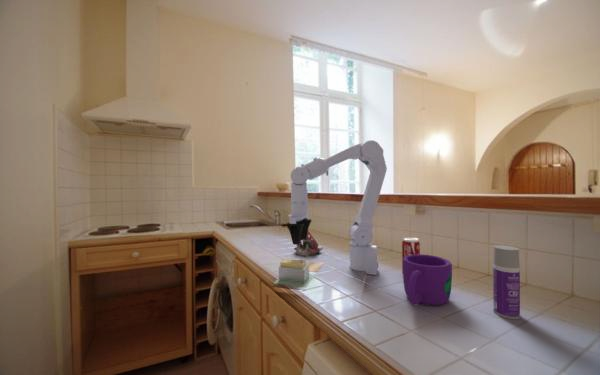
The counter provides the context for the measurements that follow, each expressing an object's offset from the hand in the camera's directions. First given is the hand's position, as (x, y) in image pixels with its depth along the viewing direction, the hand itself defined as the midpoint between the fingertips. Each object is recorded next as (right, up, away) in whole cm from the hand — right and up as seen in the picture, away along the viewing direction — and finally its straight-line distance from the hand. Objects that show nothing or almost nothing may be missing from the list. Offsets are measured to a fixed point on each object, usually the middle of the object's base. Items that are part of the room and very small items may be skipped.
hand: (299, 241), depth 89 cm
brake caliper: (+3, -10, +19) cm, 22 cm away
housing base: (-2, -9, -11) cm, 14 cm away
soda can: (+36, -10, -7) cm, 38 cm away
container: (+47, -10, -31) cm, 57 cm away
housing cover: (-2, -5, -11) cm, 12 cm away
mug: (+31, -10, -25) cm, 41 cm away
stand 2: (+3, -10, +1) cm, 10 cm away
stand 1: (-1, -10, -11) cm, 15 cm away
